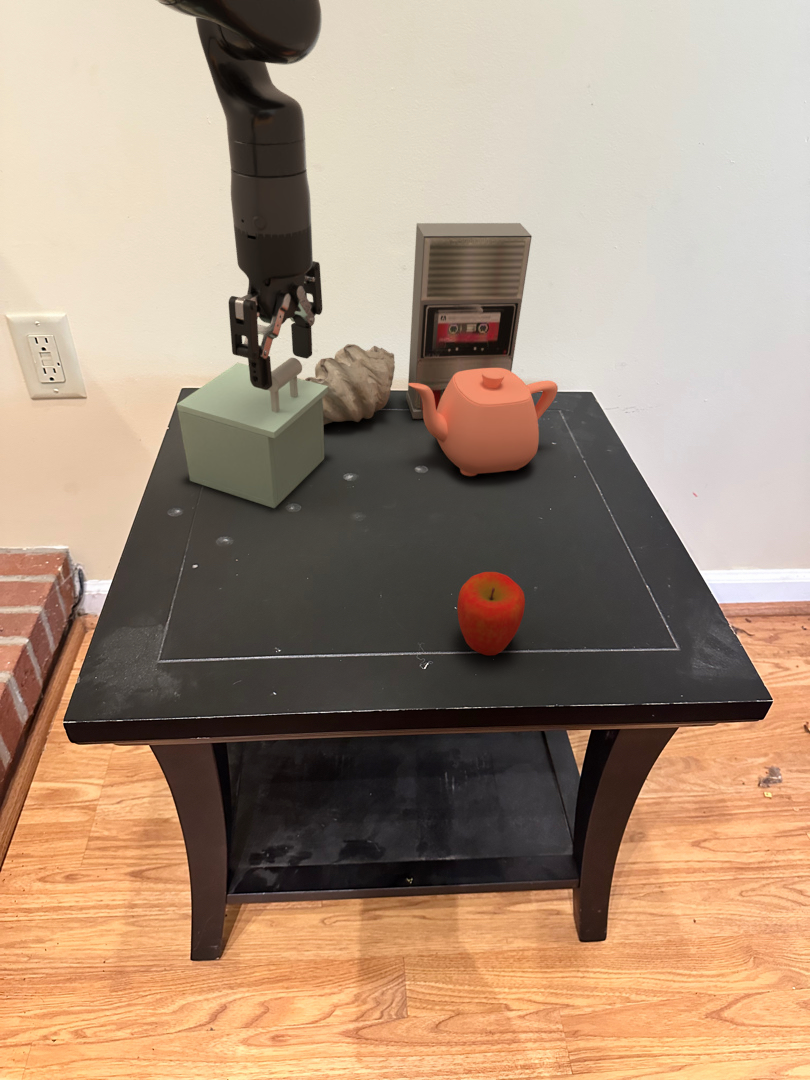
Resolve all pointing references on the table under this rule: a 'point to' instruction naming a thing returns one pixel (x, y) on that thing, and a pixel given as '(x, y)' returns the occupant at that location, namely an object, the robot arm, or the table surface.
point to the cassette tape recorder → (464, 301)
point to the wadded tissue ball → (355, 382)
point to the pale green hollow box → (253, 456)
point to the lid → (255, 399)
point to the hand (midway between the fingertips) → (283, 371)
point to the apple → (490, 611)
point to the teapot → (486, 419)
